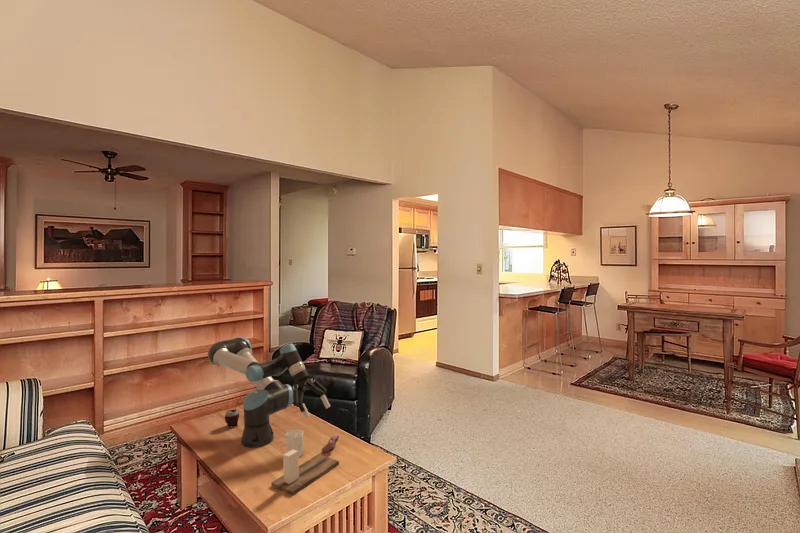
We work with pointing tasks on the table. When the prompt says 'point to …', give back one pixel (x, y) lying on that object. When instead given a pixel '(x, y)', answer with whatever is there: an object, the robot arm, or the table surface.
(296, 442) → the white cup
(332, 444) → the video game controller
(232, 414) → the mate gourd
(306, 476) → the board
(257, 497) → the table surface
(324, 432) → the table surface
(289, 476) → the fader knob
